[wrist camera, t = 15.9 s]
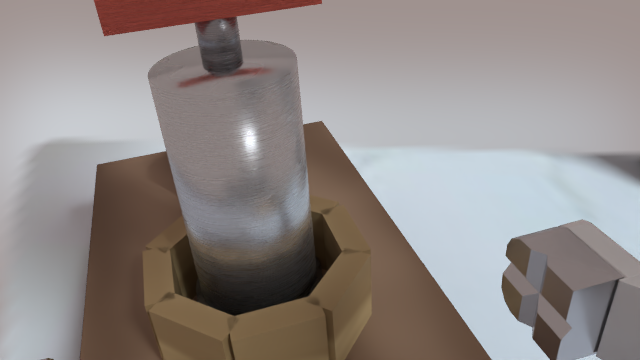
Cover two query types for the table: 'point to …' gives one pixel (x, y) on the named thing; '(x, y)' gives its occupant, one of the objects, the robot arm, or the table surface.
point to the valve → (232, 150)
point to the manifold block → (272, 322)
